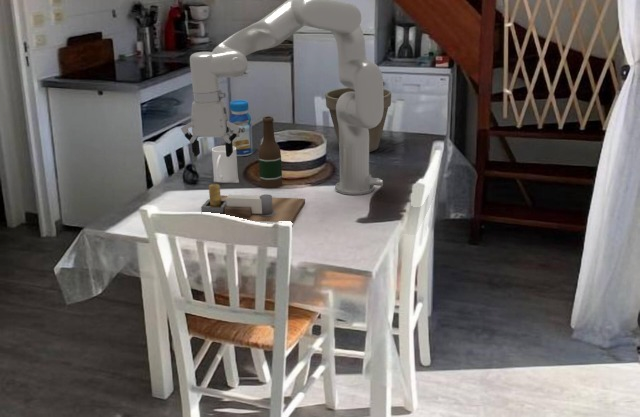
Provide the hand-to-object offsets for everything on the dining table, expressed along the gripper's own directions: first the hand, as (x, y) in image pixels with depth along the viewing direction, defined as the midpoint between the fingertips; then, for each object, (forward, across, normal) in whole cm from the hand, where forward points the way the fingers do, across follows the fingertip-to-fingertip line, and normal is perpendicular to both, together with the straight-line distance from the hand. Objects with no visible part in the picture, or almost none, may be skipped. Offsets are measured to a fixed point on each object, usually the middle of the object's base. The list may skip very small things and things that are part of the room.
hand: (213, 155), depth 215 cm
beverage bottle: (+20, +11, -64) cm, 68 cm away
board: (+19, -10, -4) cm, 22 cm away
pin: (+17, +1, 0) cm, 17 cm away
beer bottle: (+20, -10, -26) cm, 34 cm away
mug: (+19, +7, -28) cm, 35 cm away
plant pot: (+21, -32, -76) cm, 85 cm away
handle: (+17, -10, +1) cm, 20 cm away
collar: (+17, +1, 0) cm, 17 cm away
